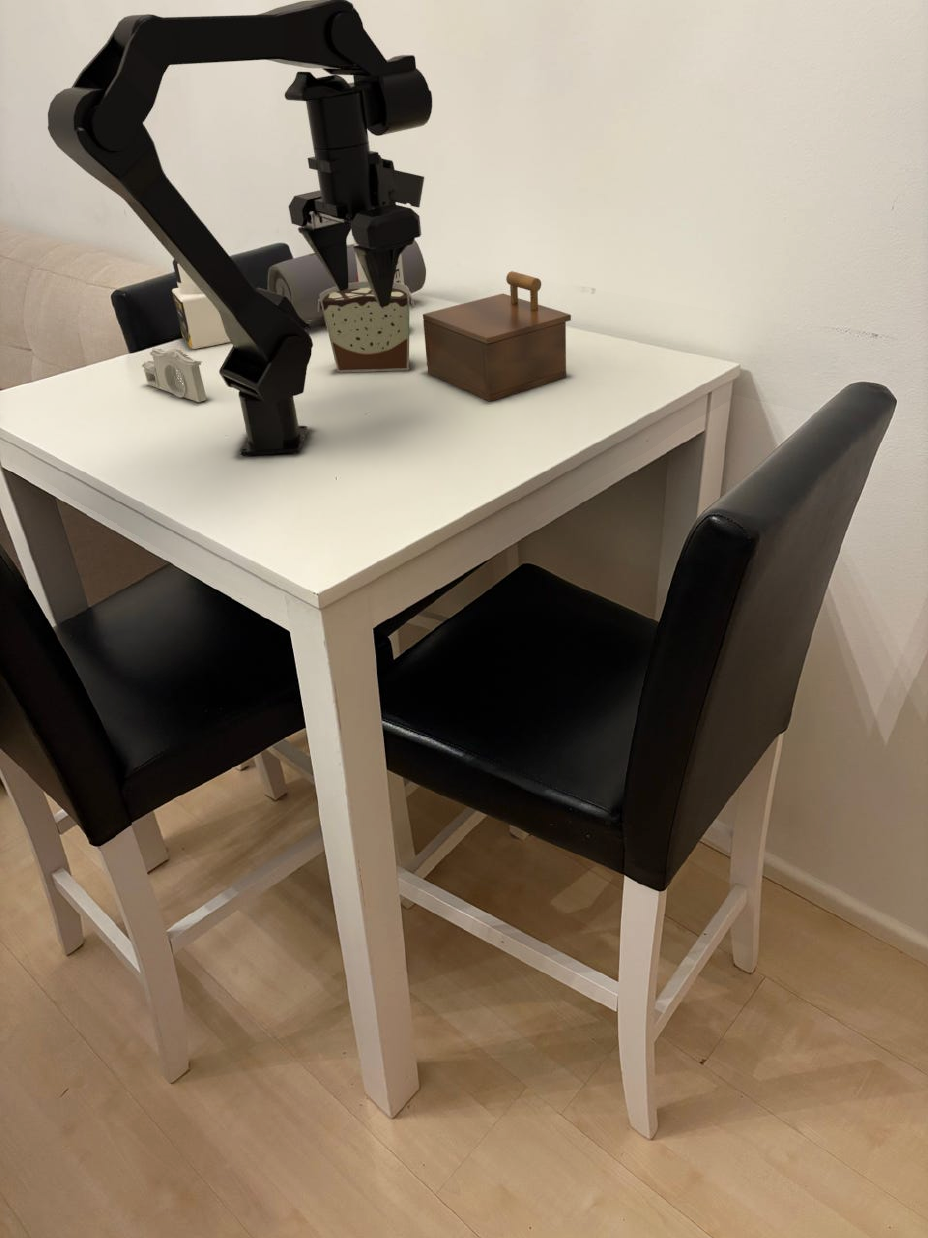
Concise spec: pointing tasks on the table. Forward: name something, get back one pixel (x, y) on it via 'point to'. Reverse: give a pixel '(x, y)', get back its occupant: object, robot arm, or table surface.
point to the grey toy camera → (175, 374)
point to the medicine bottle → (196, 313)
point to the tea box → (496, 360)
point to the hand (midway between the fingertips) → (363, 297)
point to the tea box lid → (500, 313)
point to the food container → (367, 328)
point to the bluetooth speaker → (310, 279)
